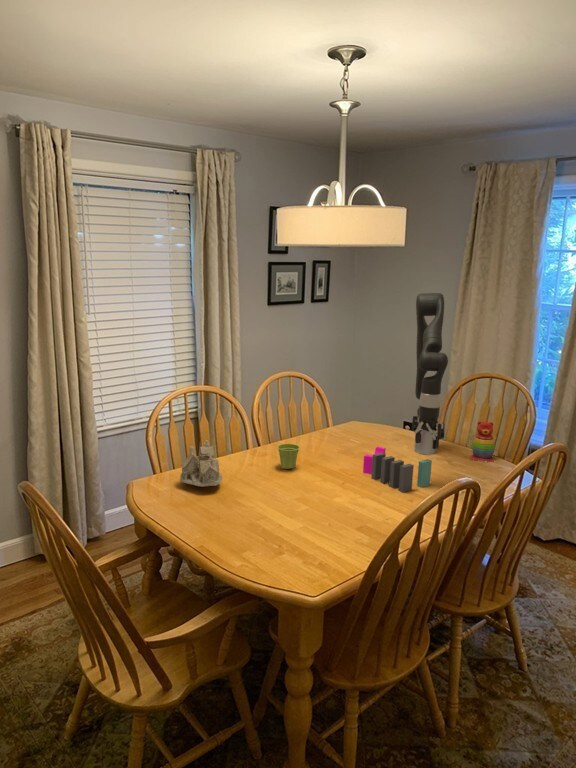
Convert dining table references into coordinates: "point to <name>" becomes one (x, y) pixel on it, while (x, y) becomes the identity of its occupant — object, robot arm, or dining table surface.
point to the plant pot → (288, 455)
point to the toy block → (368, 460)
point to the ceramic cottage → (201, 468)
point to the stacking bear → (483, 443)
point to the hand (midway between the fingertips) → (426, 445)
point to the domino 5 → (424, 473)
